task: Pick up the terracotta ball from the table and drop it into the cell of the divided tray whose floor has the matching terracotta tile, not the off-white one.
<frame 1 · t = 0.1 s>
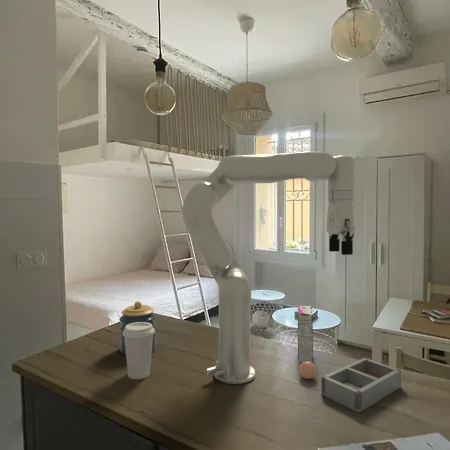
hand: (340, 252, 107), 37 cm above the kitchen counter, tool pointing down, fingers open, 9 cm apart
ball: (307, 369, 104), point 2 cm above the kitchen counter
canister: (138, 350, 127), on the kitchen counter
divided tray: (361, 390, 97), on the kitchen counter
coffee cup: (139, 375, 107), on the kitchen counter
candy bar box: (304, 357, 120), on the kitchen counter
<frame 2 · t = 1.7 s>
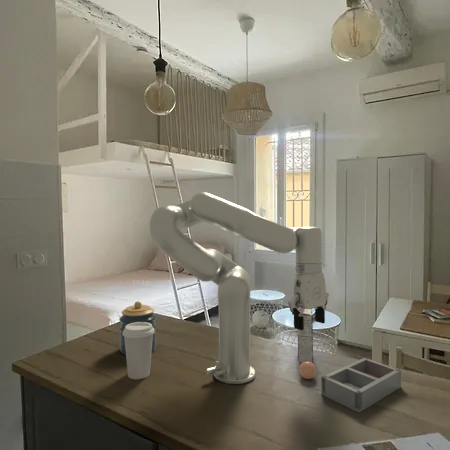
hand: (309, 325, 104), 16 cm above the kitchen counter, tool pointing down, fingers open, 9 cm apart
nothing on the kitchen counter moved.
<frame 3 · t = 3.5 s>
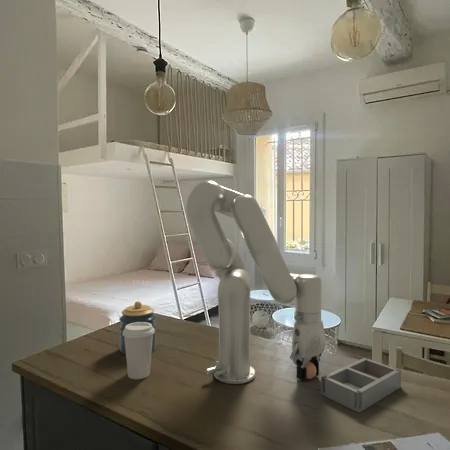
hand: (307, 376, 104), 1 cm above the kitchen counter, tool pointing down, fingers closed on ball, 4 cm apart
ball: (307, 370, 104), point 2 cm above the kitchen counter, touching gripper
everything else where it was.
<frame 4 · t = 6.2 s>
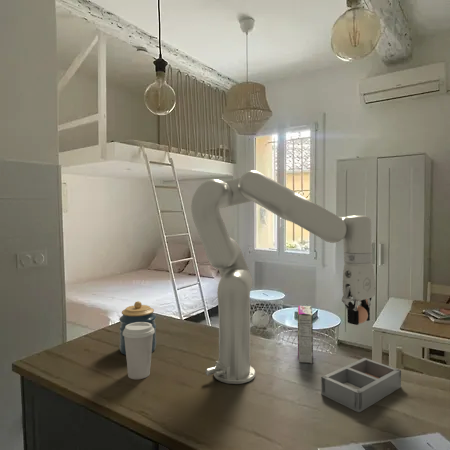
hand: (358, 321, 100), 18 cm above the kitchen counter, tool pointing down, fingers closed on ball, 4 cm apart
ball: (358, 314, 100), point 20 cm above the kitchen counter, touching gripper
everything else where it was.
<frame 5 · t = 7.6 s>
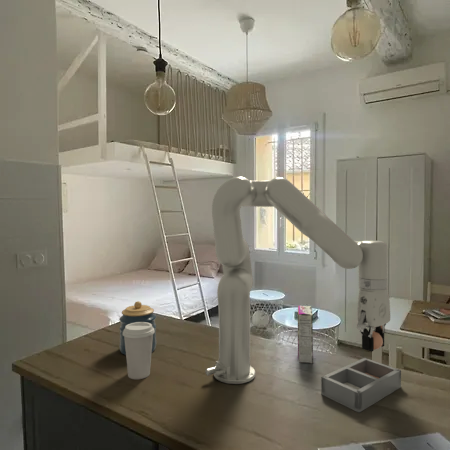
hand: (373, 347, 99), 11 cm above the kitchen counter, tool pointing down, fingers closed on ball, 4 cm apart
ball: (373, 340, 99), point 13 cm above the kitchen counter, touching gripper
everything else where it was.
when the fingers open (6 cm above the kitchen counter, at t = 8.7 s): ball drops 4 cm, resting on divided tray.
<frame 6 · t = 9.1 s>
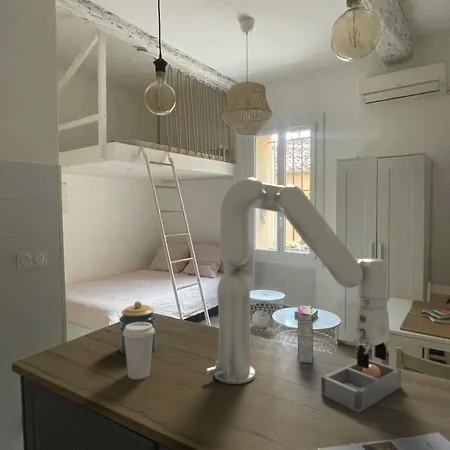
hand: (371, 362, 100), 7 cm above the kitchen counter, tool pointing down, fingers open, 8 cm apart
ball: (371, 373, 100), point 3 cm above the kitchen counter, touching divided tray
everything else where it was.
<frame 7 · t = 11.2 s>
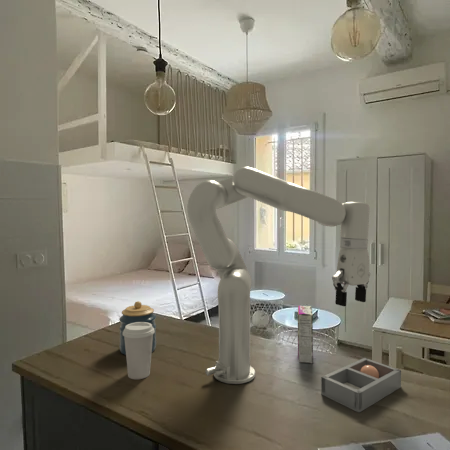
hand: (350, 303, 102), 23 cm above the kitchen counter, tool pointing down, fingers open, 9 cm apart
ball: (369, 374, 99), point 3 cm above the kitchen counter, tilted 29°, touching divided tray
everything else where it was.
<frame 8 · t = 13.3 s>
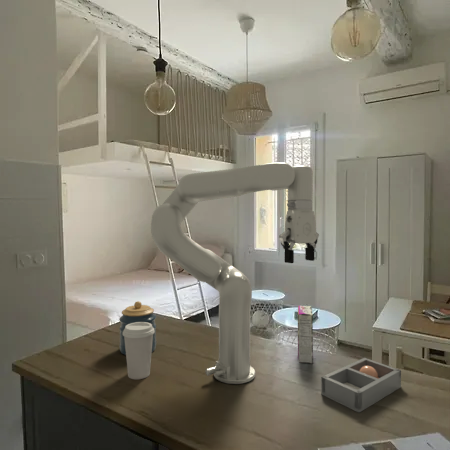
hand: (299, 261, 109), 34 cm above the kitchen counter, tool pointing down, fingers open, 9 cm apart
ball: (368, 375, 99), point 3 cm above the kitchen counter, tilted 44°, touching divided tray
everything else where it was.
at the end: ball 1.9 cm from the target spot on the divided tray, point 3.5 cm above the divided tray's base; the gripper is holding nothing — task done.
